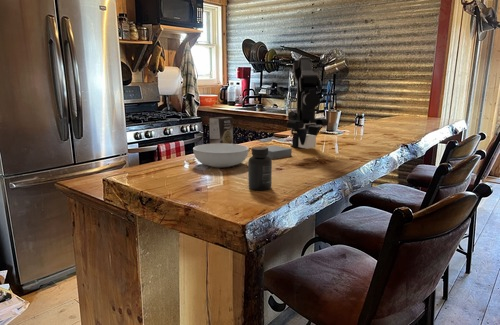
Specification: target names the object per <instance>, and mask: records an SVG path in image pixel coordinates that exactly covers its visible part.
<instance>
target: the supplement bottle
mask: <svg viewBox="0 0 500 325" xmlns="http://www.w3.org/2000/svg"><path fill="white" fill-rule="evenodd" d="M268 154H269V153H268V148H267V147H266V146H255V147H252V148H251V155H252V156H250V157H249V159H248V160H247V161H248V170H247V172H248V173H247V174H248V180H247V182H248V188H249V190H251V191H254V192H257V191H258V192H264V191H269V190H271V188H272V180H273V178H272V175H273V174H272V171H273V169H272V168H273V162H272V161H273V159H271V158H270V157H268Z"/></svg>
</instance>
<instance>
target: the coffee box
mask: <svg viewBox="0 0 500 325" xmlns="http://www.w3.org/2000/svg"><path fill="white" fill-rule="evenodd" d="M233 127H234V120H233V117H232V116H217V117H210V118H209V144H216V143H227V144H234V128H233Z"/></svg>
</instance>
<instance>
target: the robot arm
mask: <svg viewBox="0 0 500 325" xmlns="http://www.w3.org/2000/svg"><path fill="white" fill-rule="evenodd" d="M292 74H293V77H294V79H295V81H296V112H294V111H290V112H288V114H287V118H288V121H287V122H286V128H287V129H290V135H291V136H292V143H291V144H292V145H290V147H293V148H297V149H302V148H301V147H298V145H299V139H300V142H301V145H304V142H305V138H306V134H310V135H316V137H317V136H318V135H319V132H320V131H321V130H322V129H323V127H328V125H329V124H328V123H329V121H328V119H327V118H321V117H318V118H317V117H316V112H318V110H319V109H318V108H316V107H317V106H319V105H320V103H321V102H320V101H321V98H320V96H319V94H318V93H319V92H321V90H322V82H321V80H320V77H319V76H318V73H317V72H315V71H313V61H312V59H311V57H307V56H306V57H304V56H303V57H299V58H298V59H296V61H294V62H293V64H292ZM317 92H318V93H317Z"/></svg>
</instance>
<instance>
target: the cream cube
mask: <svg viewBox="0 0 500 325" xmlns="http://www.w3.org/2000/svg"><path fill="white" fill-rule="evenodd" d="M316 144H317V136H316V135H310V134H306V138H305V142H304V145H301V142H300V139H299V145H298V147H301V148H300V149H306V150H307V149H308V150H309V149H313V148H314V149H315V148H316Z"/></svg>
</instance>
